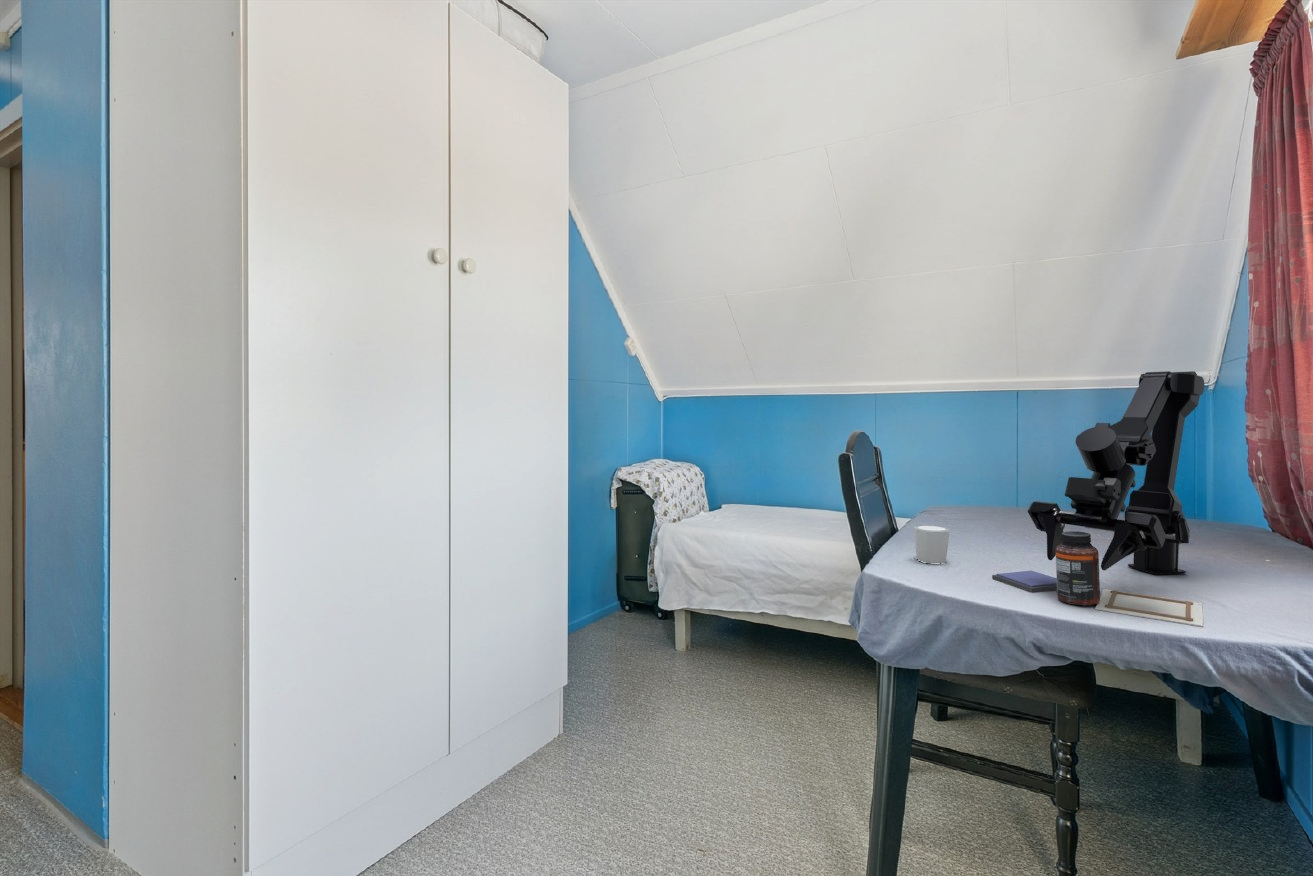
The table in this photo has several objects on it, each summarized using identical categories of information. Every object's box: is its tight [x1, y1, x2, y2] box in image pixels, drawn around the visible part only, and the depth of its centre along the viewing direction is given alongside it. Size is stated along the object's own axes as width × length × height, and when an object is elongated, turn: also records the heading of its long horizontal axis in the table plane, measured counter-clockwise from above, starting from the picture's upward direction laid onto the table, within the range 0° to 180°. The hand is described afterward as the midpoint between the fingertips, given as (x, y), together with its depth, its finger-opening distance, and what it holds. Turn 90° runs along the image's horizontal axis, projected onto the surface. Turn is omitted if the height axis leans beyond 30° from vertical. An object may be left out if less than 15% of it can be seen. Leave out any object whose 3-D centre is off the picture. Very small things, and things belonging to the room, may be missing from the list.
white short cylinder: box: [913, 524, 951, 564], centre depth 132 cm, size 7×7×7 cm
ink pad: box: [991, 570, 1057, 593], centre depth 116 cm, size 9×9×1 cm
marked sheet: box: [1094, 588, 1204, 628], centre depth 102 cm, size 13×13×1 cm
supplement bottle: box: [1055, 530, 1101, 606], centre depth 105 cm, size 6×6×11 cm
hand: (1075, 563), depth 104 cm, fingers open, 8 cm apart
